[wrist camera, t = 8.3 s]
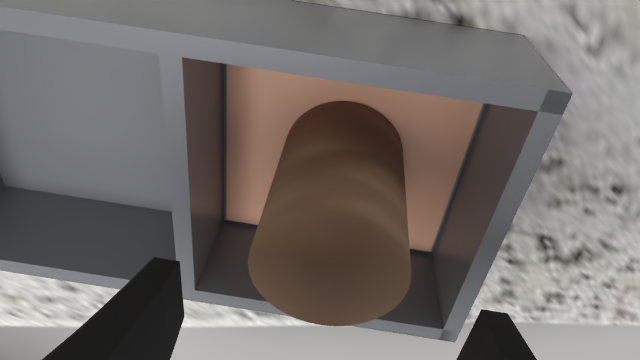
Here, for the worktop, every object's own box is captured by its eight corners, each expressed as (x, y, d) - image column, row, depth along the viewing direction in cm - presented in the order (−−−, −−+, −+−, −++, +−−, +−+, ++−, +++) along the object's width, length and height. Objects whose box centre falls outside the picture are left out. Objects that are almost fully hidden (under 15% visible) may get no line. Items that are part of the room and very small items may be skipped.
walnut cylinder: (416, 113, 16) (431, 228, 11) (388, 209, 19) (390, 337, 14) (291, 91, 16) (251, 196, 11) (280, 190, 19) (244, 311, 14)
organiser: (523, 35, 15) (572, 93, 11) (440, 256, 21) (455, 342, 17) (-82, -56, 15) (-228, -29, 12) (2, 187, 21) (-77, 258, 17)
